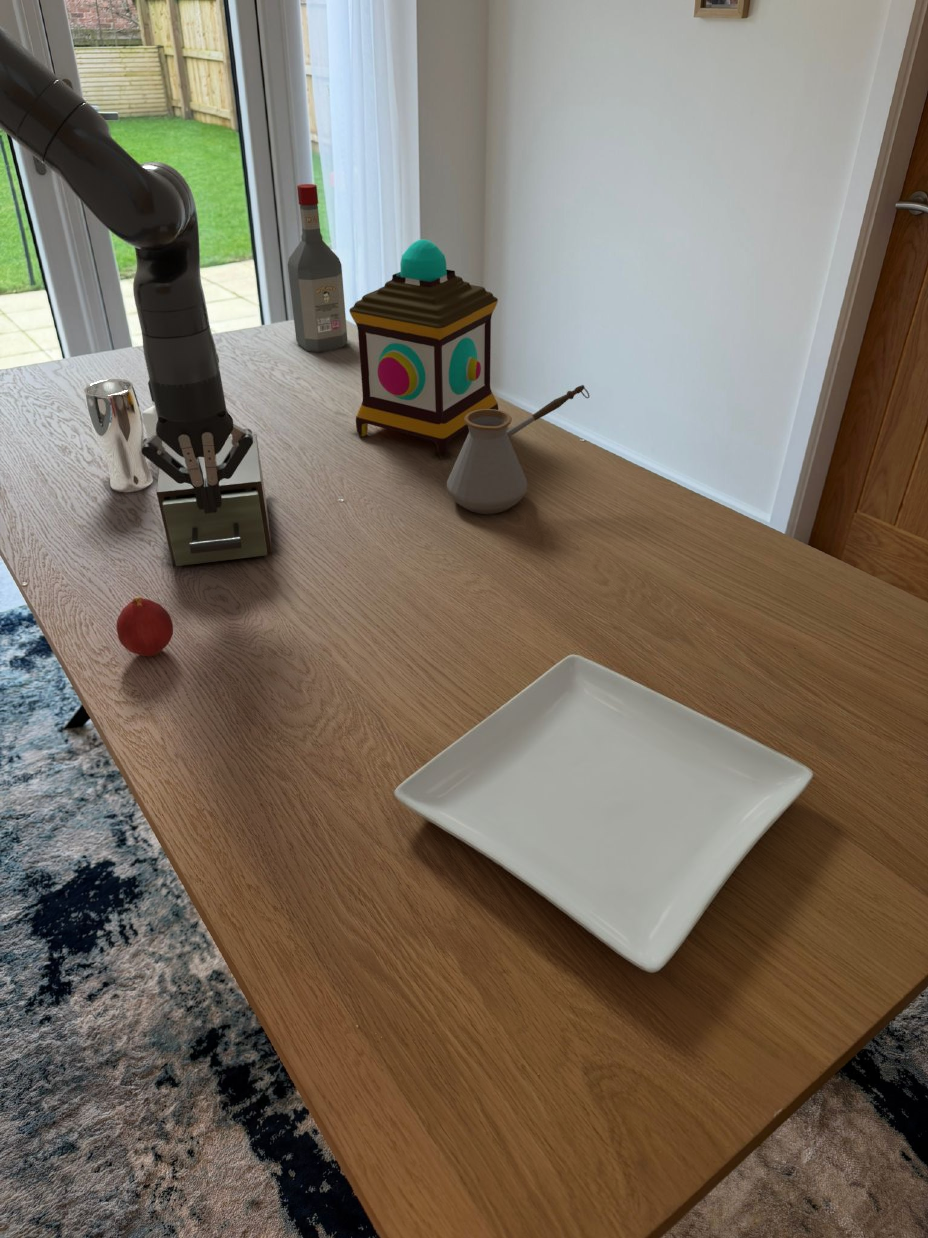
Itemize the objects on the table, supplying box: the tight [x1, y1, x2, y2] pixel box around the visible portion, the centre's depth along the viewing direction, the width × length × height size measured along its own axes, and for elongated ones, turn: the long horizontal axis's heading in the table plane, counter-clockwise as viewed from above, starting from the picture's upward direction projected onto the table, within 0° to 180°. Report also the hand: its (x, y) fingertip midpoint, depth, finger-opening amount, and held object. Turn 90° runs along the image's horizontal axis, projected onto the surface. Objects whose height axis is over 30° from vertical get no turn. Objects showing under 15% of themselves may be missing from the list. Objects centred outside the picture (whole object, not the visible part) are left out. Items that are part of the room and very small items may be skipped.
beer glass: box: [83, 378, 154, 493], centre depth 129 cm, size 7×7×15 cm
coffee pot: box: [446, 384, 590, 515], centre depth 126 cm, size 21×12×15 cm, turn 115°
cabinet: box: [156, 433, 273, 566], centre depth 119 cm, size 15×13×11 cm
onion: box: [115, 595, 174, 658], centre depth 97 cm, size 6×6×8 cm
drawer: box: [163, 488, 268, 567], centre depth 115 cm, size 19×11×9 cm, turn 13°
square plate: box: [393, 653, 814, 974], centre depth 80 cm, size 27×27×4 cm
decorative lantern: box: [349, 238, 499, 459], centre depth 141 cm, size 20×20×30 cm
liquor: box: [287, 183, 348, 353], centre depth 176 cm, size 9×9×30 cm
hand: (211, 509), depth 107 cm, fingers closed
